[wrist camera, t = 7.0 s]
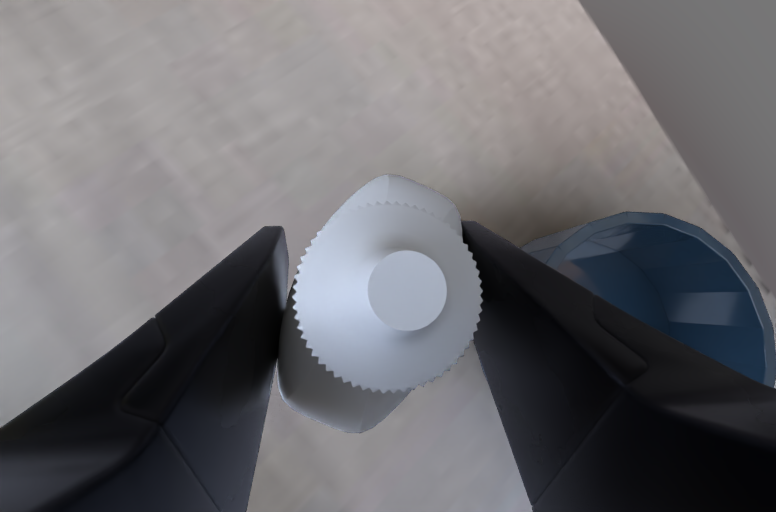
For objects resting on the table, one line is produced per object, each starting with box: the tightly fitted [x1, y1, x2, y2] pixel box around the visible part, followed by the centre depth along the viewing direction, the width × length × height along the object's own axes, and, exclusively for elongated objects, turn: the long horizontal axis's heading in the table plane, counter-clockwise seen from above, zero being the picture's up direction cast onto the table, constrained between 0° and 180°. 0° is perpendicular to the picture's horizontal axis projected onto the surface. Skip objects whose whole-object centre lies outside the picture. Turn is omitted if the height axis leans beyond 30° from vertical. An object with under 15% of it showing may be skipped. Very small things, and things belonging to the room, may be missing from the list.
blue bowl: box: [479, 212, 776, 388], centre depth 16 cm, size 11×11×5 cm
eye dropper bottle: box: [277, 174, 483, 433], centre depth 9 cm, size 4×6×12 cm
